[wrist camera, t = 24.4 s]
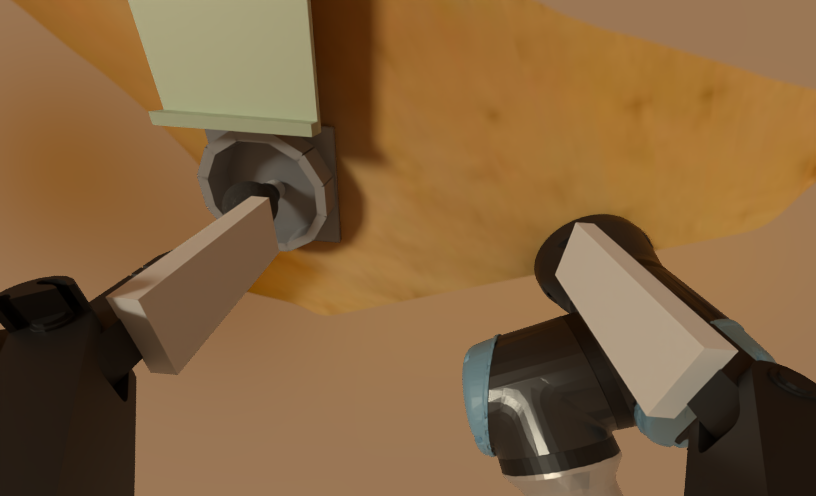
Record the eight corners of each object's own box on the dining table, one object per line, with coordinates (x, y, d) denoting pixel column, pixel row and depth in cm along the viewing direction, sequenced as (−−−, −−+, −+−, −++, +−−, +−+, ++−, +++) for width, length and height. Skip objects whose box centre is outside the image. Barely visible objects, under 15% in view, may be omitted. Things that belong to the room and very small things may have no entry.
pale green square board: (304, -80, 23) (288, -100, 21) (321, 132, 32) (312, 137, 29) (107, -94, 24) (67, -115, 21) (175, 120, 32) (152, 124, 29)
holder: (334, 126, 36) (322, 133, 32) (341, 240, 44) (332, 256, 40) (205, 116, 36) (177, 122, 32) (236, 231, 44) (216, 247, 40)
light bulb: (266, 206, 41) (221, 240, 32) (252, 166, 38) (200, 192, 30) (304, 205, 41) (269, 239, 32) (293, 164, 38) (252, 189, 29)
